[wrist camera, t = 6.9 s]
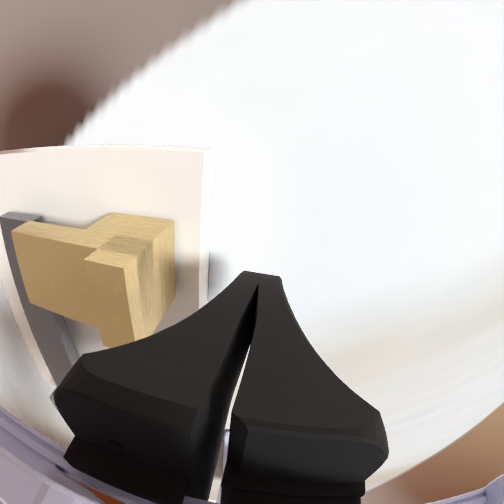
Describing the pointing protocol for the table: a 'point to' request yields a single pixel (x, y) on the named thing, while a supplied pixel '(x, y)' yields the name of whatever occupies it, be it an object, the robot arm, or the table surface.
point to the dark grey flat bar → (40, 309)
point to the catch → (101, 272)
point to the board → (117, 201)
